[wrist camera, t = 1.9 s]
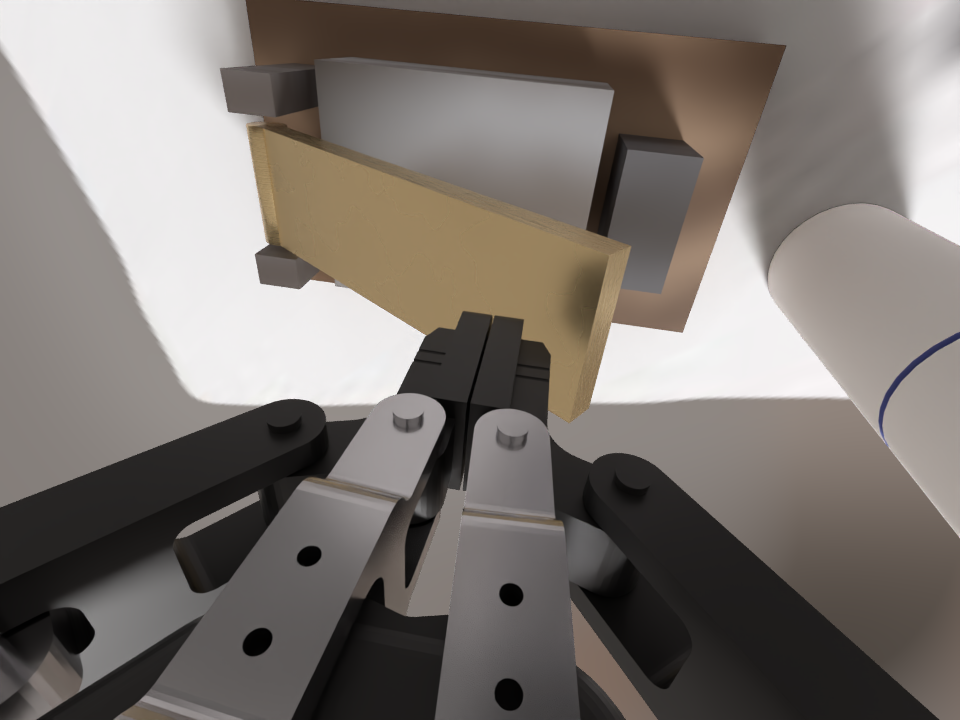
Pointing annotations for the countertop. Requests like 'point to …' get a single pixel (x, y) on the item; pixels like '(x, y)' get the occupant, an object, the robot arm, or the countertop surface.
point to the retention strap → (441, 251)
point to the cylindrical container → (884, 330)
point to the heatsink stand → (525, 124)
